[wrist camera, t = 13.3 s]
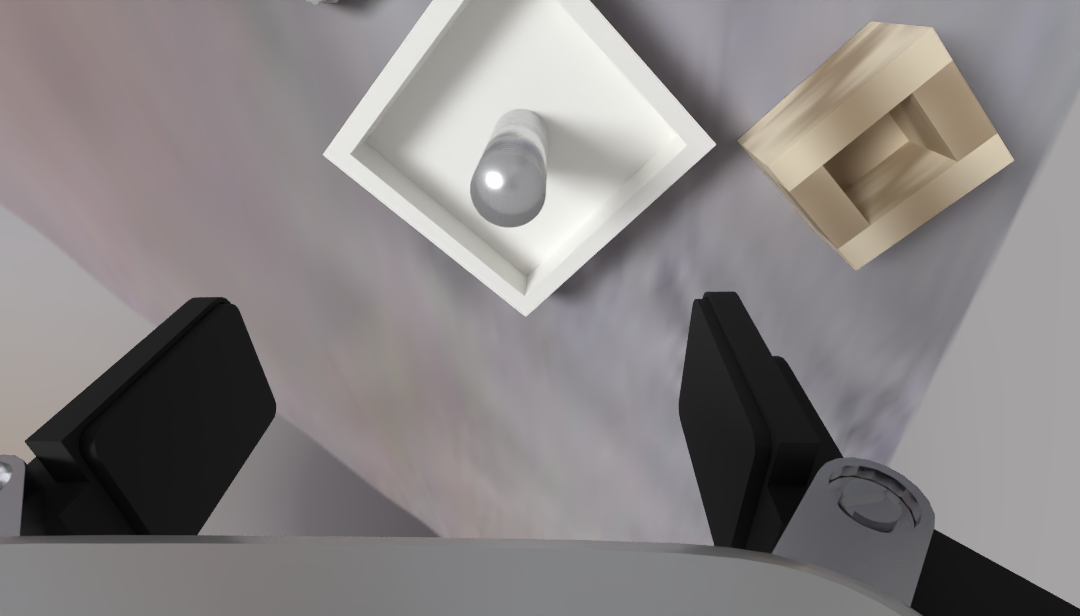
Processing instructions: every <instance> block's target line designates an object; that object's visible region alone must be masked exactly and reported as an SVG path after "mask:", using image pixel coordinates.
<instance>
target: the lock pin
mask: <svg viewBox="0 0 1080 616" xmlns="http://www.w3.org/2000/svg"><path fill="white" fill-rule="evenodd" d="M548 141H549V135H548V130H547V127H546V125H545V123H544V121H543V120H542V119H541V117H540V116H538V115H537V114H536V113H534V112H532V111H530V110H527V109H514V110H511V111H509V112H507V113H505V114H504V115H503V116H502V117H501V118H500V119H499V120H498V122H497V123H496V126H495V128H494V130H493V132H492V134H491V137H490V139H489V141H488V143H487V145H486V148H485V150H484V152H483V154H482V156H481V159H480V161H479V163H478V165H477V167H476V170H475V172H474V174H473V177H472V179H471V184H470V194H471V199H472V202H473V204H474V207H475V208H476V210H477V211H478V213H479V214H480V215H481V216H482V217H483V218H484V219H486V220H487V221H489V222H490V223H492V224H494V225H497V226H500V227H508V228H511V227H518V226H522V225H525V224H527V223H528V222H530V221H532V220H533V219H534V218H535V217H536V216H537V215H538V214H539V212H540V211H541V209H542V207H543V205H544V202H545V197H546V180H547V161H548Z"/></svg>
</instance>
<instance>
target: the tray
mask: <svg viewBox="0 0 1080 616" xmlns="http://www.w3.org/2000/svg"><path fill="white" fill-rule="evenodd" d="M514 109H527V110H530V111H532V112H534V113H536V114H537V115H538V116H540V117H541V119H542V120H543V121H544V123H545V125H546V127H547V130H548V135H549V141H548V161H547V180H546V197H545V202H544V205H543V207H542V209H541V211H540V212H539V214H538V215H537V216H536V217H535V218H534V219H533V220H532V221H530V222H528V223H527V224H525V225H522V226H518V227H511V228H508V227H500V226H497V225H494V224H492V223H490V222H489V221H487V220H486V219H484V218H483V217H482V216H481V215H480V214H479V213H478V211H477V210H476V208H475V207H474V204H473V202H472V199H471V194H470V184H471V179H472V177H473V174H474V172H475V170H476V167H477V165H478V163H479V161H480V159H481V156H482V154H483V152H484V150H485V148H486V145H487V143H488V141H489V139H490V137H491V134H492V132H493V130H494V128H495V126H496V123H497V122H498V120H499V119H500V118H501V117H502V116H503V115H504V114H505V113H507V112H509V111H511V110H514ZM715 145H716V144H715V142H714V141H713V140H712V139H711V138H710V137H709V136H708V134H707V133H706V132H705V131H704V130H703V129H702V128H701V126H700V125H699V124H698V123H697V122H696V121H695V120H694V119H693V117H692V116H691V115H690V114H689V113H688V112H687V111H686V109H685V108H684V107H683V106H682V105H681V104H680V103H679V101H678V100H677V99H676V98H675V97H674V96H673V95H672V93H671V92H670V91H669V90H668V89H667V88H666V87H665V86H664V84H663V83H662V82H661V81H660V80H659V79H658V78H657V76H656V75H655V74H654V73H653V72H652V71H651V70H650V68H649V67H648V66H647V65H646V64H645V63H644V62H643V60H642V59H641V58H640V57H639V56H638V55H637V54H636V53H635V51H634V50H633V49H632V48H631V47H630V46H629V45H628V43H627V42H626V41H625V40H624V39H623V38H622V37H621V35H620V34H619V33H618V32H617V31H616V30H615V29H614V27H613V26H612V25H611V24H610V23H609V22H608V21H607V19H606V18H605V17H604V16H603V15H602V14H601V13H600V12H599V10H598V9H597V8H596V7H595V6H594V5H593V4H592V2H591V1H590V0H433V1H432V2H431V4H430V5H429V6H428V8H427V9H426V11H425V12H424V13H423V15H422V16H421V18H420V19H419V20H418V22H417V23H416V25H415V26H414V27H413V29H412V30H411V32H410V33H409V34H408V36H407V37H406V39H405V40H404V41H403V43H402V44H401V46H400V47H399V48H398V50H397V51H396V53H395V54H394V55H393V57H392V58H391V60H390V61H389V62H388V64H387V65H386V67H385V68H384V70H383V71H382V72H381V74H380V75H379V77H378V78H377V79H376V81H375V82H374V84H373V85H372V86H371V88H370V89H369V91H368V92H367V93H366V95H365V96H364V98H363V99H362V100H361V102H360V103H359V105H358V106H357V107H356V109H355V110H354V112H353V113H352V114H351V116H350V117H349V119H348V120H347V121H346V123H345V124H344V126H343V127H342V128H341V130H340V131H339V133H338V134H337V135H336V137H335V138H334V140H333V141H332V142H331V144H330V145H329V147H328V148H327V149H326V151H325V152H324V154H323V155H324V156H325V157H326V158H327V159H329V160H330V161H331V162H332V163H334V164H335V165H336V166H337V167H339V168H340V169H341V170H342V171H344V172H345V173H346V174H347V175H349V176H350V177H351V178H352V179H354V180H355V181H356V182H357V183H359V184H360V185H361V186H362V187H364V188H365V189H366V190H367V191H369V192H370V193H371V194H372V195H374V196H375V197H376V198H377V199H379V200H380V201H381V202H382V203H384V204H385V205H386V206H387V207H389V208H390V209H391V210H393V211H394V212H395V213H396V214H398V215H399V216H400V217H401V218H403V219H404V220H405V221H406V222H408V223H409V224H410V225H411V226H413V227H414V228H415V229H416V230H418V231H419V232H420V233H421V234H423V235H424V236H425V237H426V238H428V239H429V240H430V241H431V242H433V243H434V244H435V245H436V246H438V247H439V248H440V249H441V250H443V251H444V252H445V253H446V254H448V255H449V256H450V257H451V258H453V259H454V260H455V261H456V262H458V263H459V264H460V265H461V266H463V267H464V268H465V269H466V270H468V271H469V272H470V273H471V274H473V275H474V276H475V277H476V278H478V279H479V280H480V281H481V282H483V283H484V284H485V285H486V286H488V287H489V288H490V289H491V290H493V291H494V292H495V293H496V294H498V295H499V296H500V297H501V298H503V299H504V300H505V301H506V302H508V303H509V304H510V305H511V306H513V307H514V308H515V309H517V310H518V311H519V312H520V313H522V314H523V315H524V316H525V317H526V316H527V315H528V314H530V313H531V312H532V311H533V310H534V309H535V308H536V307H537V306H538V305H539V304H541V303H542V302H543V301H544V300H545V299H546V298H547V297H548V296H549V295H551V294H552V293H553V292H554V291H555V290H556V289H557V288H558V287H559V286H561V285H562V284H563V283H564V282H565V281H566V280H567V279H568V278H569V277H570V276H572V275H573V274H574V273H575V272H576V271H577V270H578V269H579V268H580V267H582V266H583V265H584V264H585V263H586V262H587V261H588V260H589V259H590V258H591V257H593V256H594V255H595V254H596V253H597V252H598V251H599V250H600V249H601V248H603V247H604V246H605V245H606V244H607V243H608V242H609V241H610V240H611V239H613V238H614V237H615V236H616V235H617V234H618V233H619V232H620V231H621V230H622V229H624V228H625V227H626V226H627V225H628V224H629V223H630V222H631V221H632V220H634V219H635V218H636V217H637V216H638V215H639V214H640V213H641V212H642V211H644V210H645V209H646V208H647V207H648V206H649V205H650V204H651V203H652V202H653V201H655V200H656V199H657V198H658V197H659V196H660V195H661V194H662V193H663V192H665V191H666V190H667V189H668V188H669V187H670V186H671V185H672V184H673V183H674V182H676V181H677V180H678V179H679V178H680V177H681V176H682V175H683V174H684V173H686V172H687V171H688V170H689V169H690V168H691V167H692V166H693V165H694V164H696V163H697V162H698V161H699V160H700V159H701V158H702V157H703V156H704V155H705V154H707V153H708V152H709V151H710V150H711V149H712V148H713V147H714V146H715Z"/></svg>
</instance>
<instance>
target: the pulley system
mask: <svg viewBox="0 0 1080 616" xmlns="http://www.w3.org/2000/svg"><path fill="white" fill-rule="evenodd" d="M305 1H307V2H309V3H312V4H315V5H317V4H320V3H337V2H338V1H339V0H305Z"/></svg>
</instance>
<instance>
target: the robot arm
mask: <svg viewBox="0 0 1080 616" xmlns="http://www.w3.org/2000/svg"><path fill="white" fill-rule="evenodd" d="M275 413H276V402H275V399H274V397H273V394H272V392H271V389H270V387H269V384H268V382H267V379H266V377H265V374H264V371H263V369H262V366H261V364H260V361H259V359H258V356H257V354H256V351H255V349H254V346H253V344H252V341H251V339H250V336H249V334H248V331H247V329H246V326H245V324H244V321H243V319H242V316H241V314H240V311H239V309H238V308H237V307H236V306H235V305H233V304H231V303H230V302H229V301H228V300H227V299H226V298H223V297H198V298H192V299H190V300H189V301H187V302H186V303H185V304H184V305H183V306H182V307H180V308H179V309H178V310H177V311H176V312H175V313H173V314H172V315H171V316H170V317H169V318H168V319H166V320H165V321H164V322H163V323H162V324H161V325H159V326H158V327H157V328H156V329H155V330H154V331H153V332H151V333H150V334H149V335H148V336H147V337H146V338H145V339H143V340H142V341H141V342H140V343H138V344H137V345H136V346H135V347H134V348H133V349H131V350H130V351H129V352H128V353H127V354H126V355H124V356H123V357H122V358H121V359H120V360H119V361H118V362H116V363H115V364H114V365H113V366H112V367H111V368H109V369H108V370H107V371H106V372H105V373H104V374H102V375H101V376H100V377H99V378H98V379H97V380H95V381H94V382H93V383H92V384H91V385H90V386H88V387H87V388H86V389H85V390H84V391H83V392H81V393H80V394H79V395H78V396H77V397H76V398H74V399H73V400H72V401H71V402H70V403H69V404H67V405H66V406H65V407H64V408H63V409H62V410H60V411H59V412H58V413H57V414H56V415H55V416H53V417H52V418H51V419H50V420H49V421H48V422H46V423H45V424H44V425H43V426H42V427H41V428H40V429H38V430H37V431H36V432H35V433H34V434H32V435H31V436H30V437H29V438H28V439H27V440H25V443H26V444H27V445H28V446H29V447H30V449H31V450H32V451H33V453H34V454H35V455H36V457H35V458H34V459H33V460H32V461H31V462H30V463H29V464H28V465H27V464H26V463H25V462H24V461H23V459H21V458H19V457H17V456H15V455H0V616H1080V609H1079V608H1077V607H1075V606H1073V605H1072V604H1070V603H1068V602H1066V601H1064V600H1063V599H1061V598H1059V597H1057V596H1055V595H1053V594H1051V593H1050V592H1048V591H1046V590H1044V589H1042V588H1041V587H1039V586H1037V585H1035V584H1033V583H1031V582H1030V581H1028V580H1026V579H1024V578H1022V577H1021V576H1019V575H1017V574H1015V573H1013V572H1011V571H1010V570H1008V569H1006V568H1004V567H1002V566H1000V565H999V564H997V563H995V562H993V561H991V560H989V559H988V558H985V557H984V556H982V555H980V554H979V553H976V552H975V551H973V550H971V549H969V548H968V547H966V546H964V545H962V544H960V543H959V542H957V541H955V540H953V539H951V538H949V537H947V536H946V535H944V534H942V533H940V532H938V531H936V530H935V529H934V523H935V522H934V521H935V514H934V512H933V510H932V507H931V505H930V502H929V501H928V499H927V498H926V497H925V496H924V494H923V493H922V492H921V491H920V489H919V488H918V487H917V486H916V485H914V484H913V483H912V482H911V481H909V480H908V479H907V478H906V477H905V476H903V475H901V474H900V473H898V472H896V471H894V470H892V469H891V468H889V467H887V466H884V465H882V464H879V463H876V462H873V461H870V460H866V459H859V458H853V457H851V458H843V456H842V454H841V453H840V451H839V449H838V448H837V446H836V444H835V443H834V441H833V439H832V437H831V436H830V434H829V432H828V431H827V429H826V427H825V426H824V424H823V422H822V421H821V419H820V417H819V416H818V414H817V412H816V410H815V409H814V407H813V405H812V404H811V402H810V400H809V399H808V397H807V395H806V394H805V392H804V390H803V389H802V387H801V385H800V383H799V382H798V380H797V378H796V377H795V375H794V373H793V372H792V370H791V368H790V367H789V365H788V363H787V362H786V361H785V360H784V358H782V357H780V356H772V355H771V353H770V351H769V349H768V348H767V346H766V344H765V342H764V340H763V339H762V337H761V335H760V333H759V332H758V330H757V328H756V326H755V325H754V323H753V321H752V319H751V317H750V316H749V314H748V312H747V310H746V309H745V307H744V305H743V303H742V301H741V300H740V298H739V296H738V294H737V293H736V292H705V293H704V296H703V299H695V300H694V302H693V307H692V314H691V321H690V327H689V334H688V341H687V348H686V355H685V362H684V369H683V376H682V383H681V390H680V397H679V416H680V421H681V424H682V428H683V432H684V435H685V439H686V443H687V446H688V450H689V454H690V457H691V461H692V465H693V468H694V472H695V476H696V479H697V483H698V487H699V490H700V494H701V498H702V501H703V505H704V509H705V512H706V516H707V520H708V524H709V527H710V531H711V535H712V538H713V542H714V546H707V545H694V544H680V543H654V542H623V541H592V540H544V539H482V538H415V537H327V536H324V537H323V536H319V537H318V536H200V535H198V533H199V531H200V530H201V529H202V527H203V525H204V524H205V522H206V521H207V519H208V518H209V516H210V515H211V513H212V512H213V510H214V509H215V507H216V506H217V504H218V503H219V501H220V499H221V498H222V496H223V495H224V493H225V492H226V490H227V489H228V487H229V486H230V484H231V483H232V481H233V480H234V478H235V477H236V475H237V474H238V472H239V471H240V469H241V468H242V466H243V465H244V463H245V461H246V460H247V458H248V457H249V455H250V454H251V452H252V451H253V449H254V448H255V446H256V445H257V443H258V442H259V440H260V439H261V437H262V436H263V434H264V433H265V431H266V430H267V428H268V426H269V425H270V423H271V422H272V420H273V418H274V417H275Z"/></svg>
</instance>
